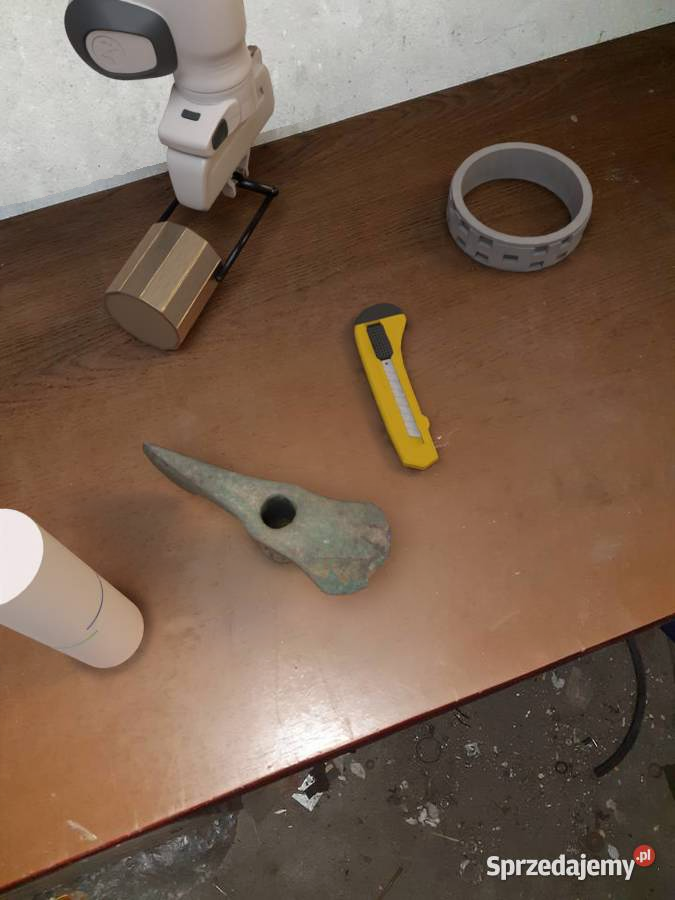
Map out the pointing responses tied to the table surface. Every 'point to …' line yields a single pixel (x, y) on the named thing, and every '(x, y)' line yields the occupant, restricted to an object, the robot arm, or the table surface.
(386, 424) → the utility knife
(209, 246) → the bucket
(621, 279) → the table surface
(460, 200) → the ring
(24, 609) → the cylindrical container
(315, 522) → the axe head
